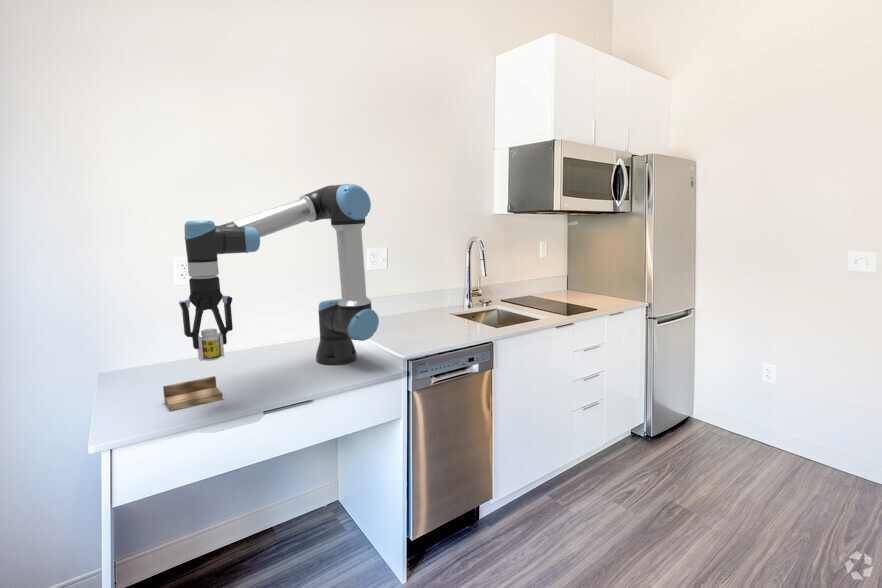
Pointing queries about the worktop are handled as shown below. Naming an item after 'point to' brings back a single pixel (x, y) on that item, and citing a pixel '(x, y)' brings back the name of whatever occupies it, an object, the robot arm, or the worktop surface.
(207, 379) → the wooden stand
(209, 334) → the supplement bottle
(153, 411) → the worktop surface
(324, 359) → the robot arm
